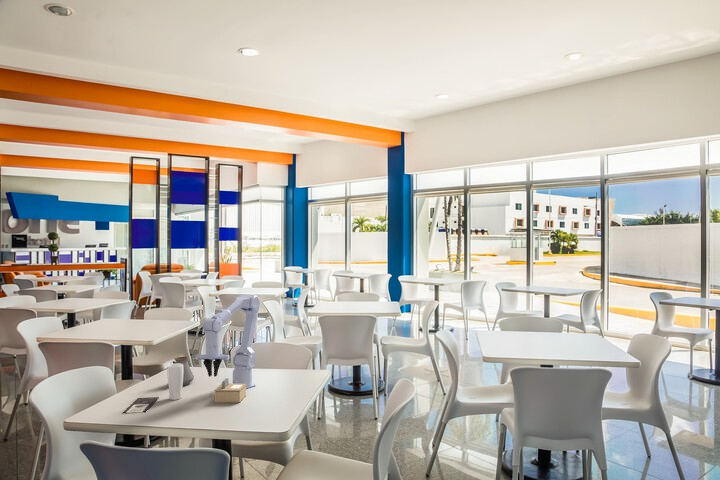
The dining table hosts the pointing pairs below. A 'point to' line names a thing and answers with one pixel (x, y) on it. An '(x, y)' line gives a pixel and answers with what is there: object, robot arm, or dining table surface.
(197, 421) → the dining table surface
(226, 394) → the wooden box
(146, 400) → the chocolate bar
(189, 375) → the coffee pot
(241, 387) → the sliding lid
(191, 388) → the dining table surface
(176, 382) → the drinking glass
